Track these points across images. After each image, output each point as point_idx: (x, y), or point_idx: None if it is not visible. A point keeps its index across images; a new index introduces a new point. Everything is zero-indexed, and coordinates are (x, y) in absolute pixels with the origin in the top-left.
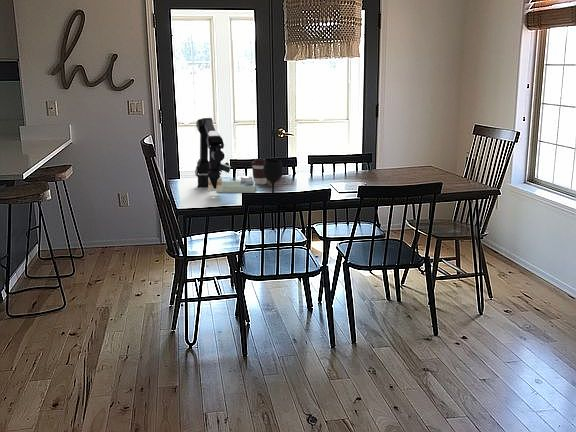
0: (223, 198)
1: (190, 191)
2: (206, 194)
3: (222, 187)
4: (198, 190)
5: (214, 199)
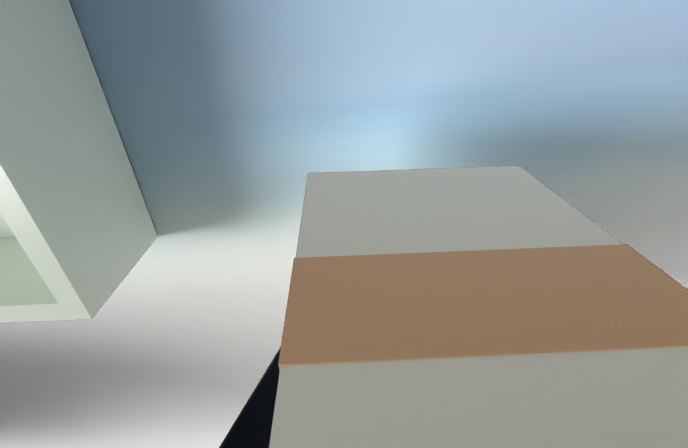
0: (570, 88)
1: (147, 445)
2: (266, 328)
3: (50, 189)
4: (68, 408)
5: (594, 215)
